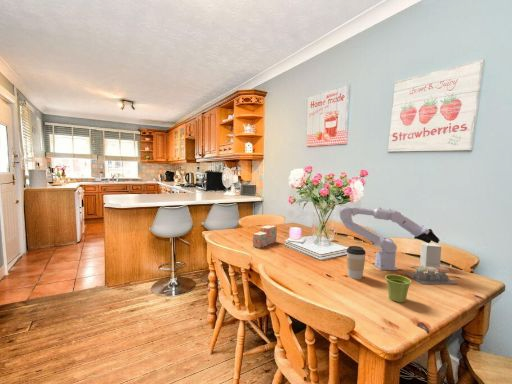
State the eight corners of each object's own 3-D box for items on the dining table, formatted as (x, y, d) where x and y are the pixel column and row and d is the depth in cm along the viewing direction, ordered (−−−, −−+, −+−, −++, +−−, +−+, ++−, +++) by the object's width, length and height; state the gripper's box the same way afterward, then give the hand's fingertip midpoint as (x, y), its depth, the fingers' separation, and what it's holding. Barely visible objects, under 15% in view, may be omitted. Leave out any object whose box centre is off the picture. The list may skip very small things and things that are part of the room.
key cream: (429, 276, 124) (430, 269, 123) (424, 273, 127) (424, 266, 127) (437, 276, 124) (438, 269, 123) (432, 273, 128) (432, 266, 127)
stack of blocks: (260, 248, 173) (260, 230, 172) (252, 246, 177) (253, 229, 176) (276, 241, 191) (276, 225, 190) (269, 240, 194) (269, 224, 193)
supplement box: (440, 269, 139) (441, 246, 138) (425, 268, 140) (426, 245, 139) (433, 264, 146) (435, 243, 145) (419, 263, 147) (420, 242, 146)
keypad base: (421, 284, 120) (422, 279, 119) (406, 274, 131) (406, 269, 131) (457, 284, 120) (457, 279, 120) (438, 274, 132) (439, 269, 132)
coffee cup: (364, 274, 131) (365, 245, 130) (365, 281, 122) (366, 250, 121) (345, 271, 134) (346, 243, 132) (345, 278, 125) (346, 248, 124)
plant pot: (379, 294, 109) (380, 274, 109) (400, 293, 110) (401, 273, 110) (393, 305, 100) (394, 284, 99) (415, 304, 101) (416, 283, 100)
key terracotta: (441, 276, 124) (441, 269, 123) (435, 273, 128) (435, 266, 127) (449, 276, 124) (449, 269, 123) (442, 273, 128) (443, 266, 127)
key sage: (418, 276, 123) (419, 269, 123) (413, 273, 127) (413, 266, 127) (426, 276, 123) (427, 269, 123) (421, 273, 127) (421, 266, 127)
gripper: (421, 218, 129) (446, 234, 126) (407, 221, 143) (430, 236, 140) (413, 229, 128) (439, 246, 125) (401, 231, 142) (423, 246, 139)
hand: (434, 241), depth 133 cm, fingers open, 7 cm apart
